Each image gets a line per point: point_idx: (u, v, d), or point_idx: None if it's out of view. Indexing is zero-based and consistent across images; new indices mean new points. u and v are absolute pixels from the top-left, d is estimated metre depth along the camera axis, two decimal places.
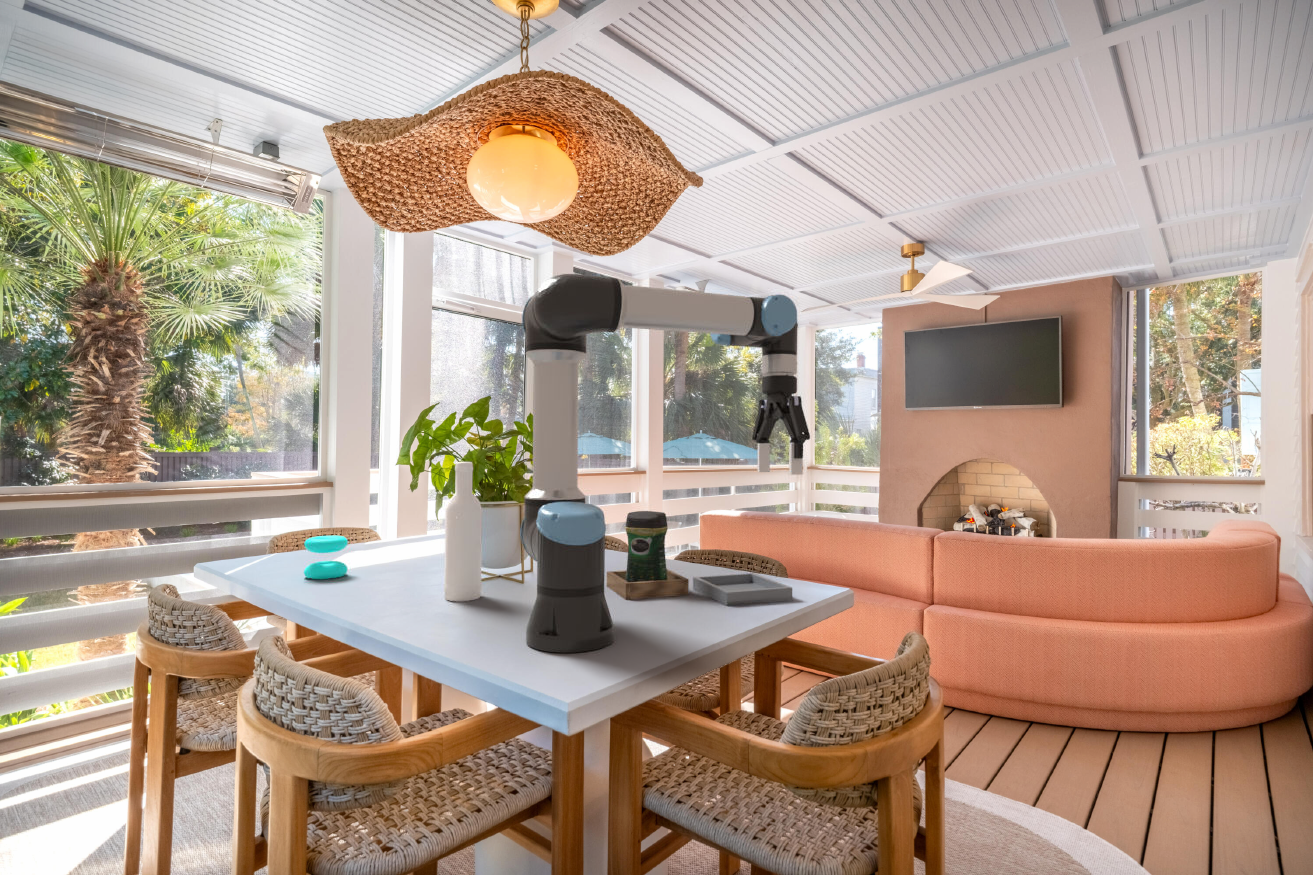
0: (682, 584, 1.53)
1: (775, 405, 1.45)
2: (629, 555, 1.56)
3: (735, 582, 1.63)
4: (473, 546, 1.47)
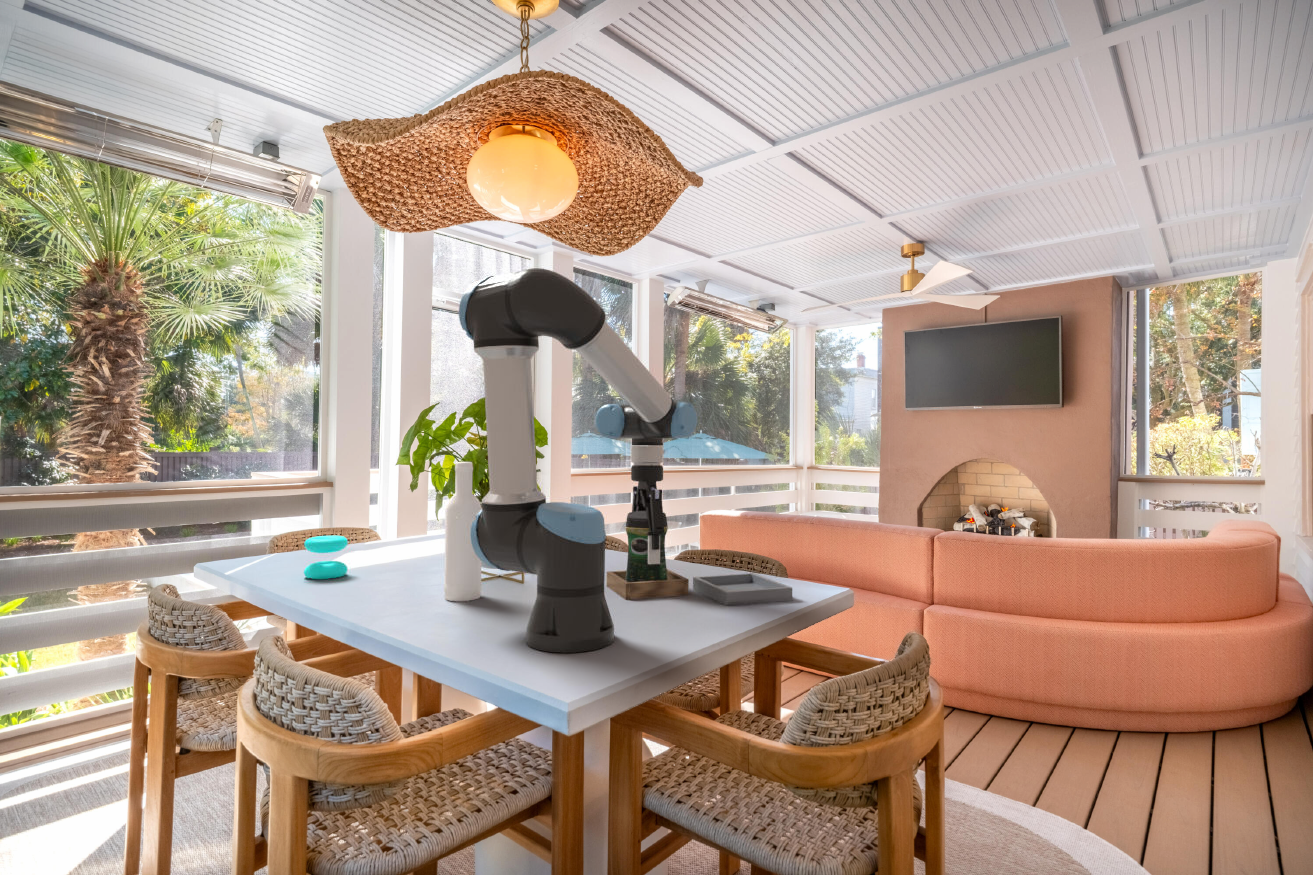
0: (682, 584, 1.53)
1: (641, 493, 1.56)
2: (629, 555, 1.56)
3: (735, 582, 1.63)
4: None
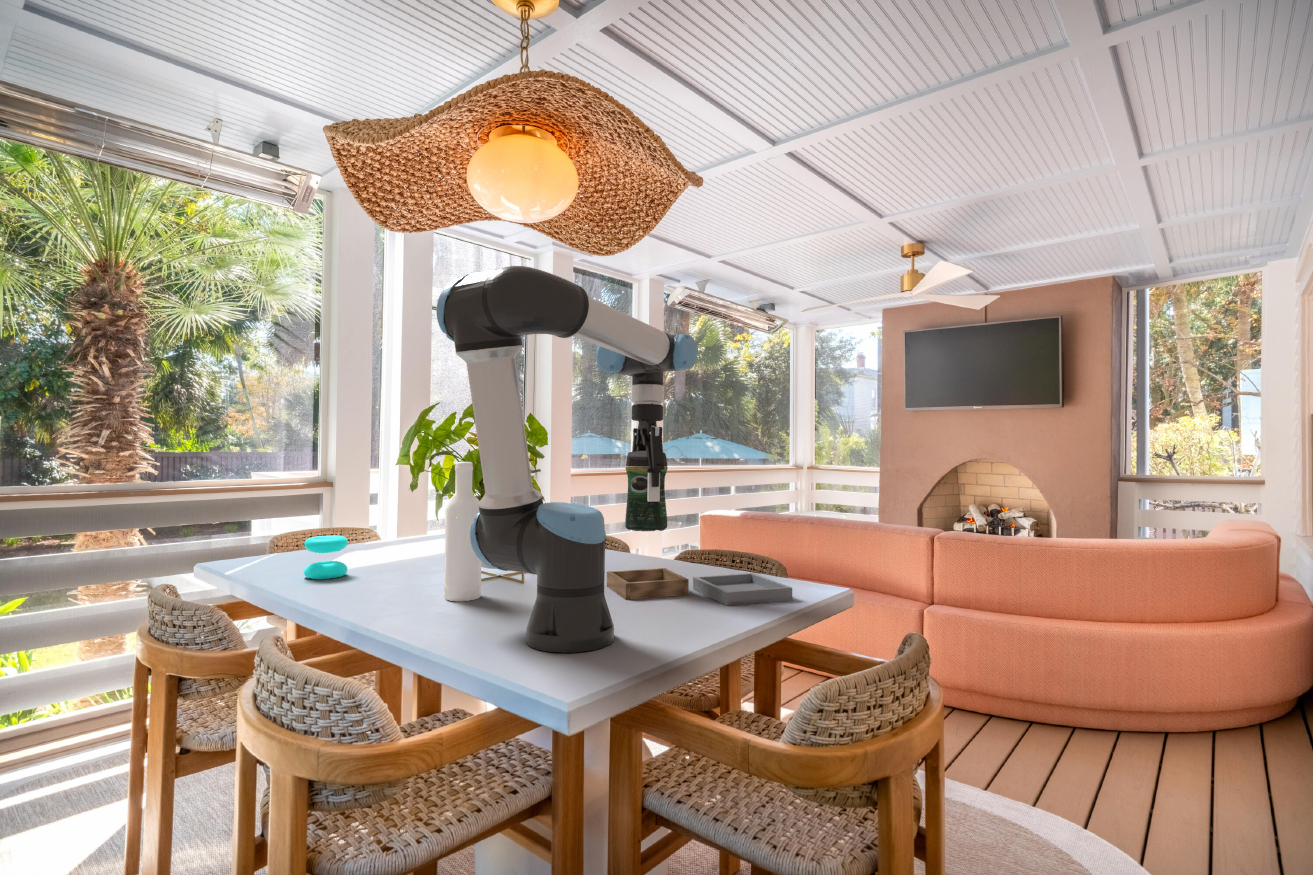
0: (682, 584, 1.53)
1: (641, 432, 1.56)
2: (629, 494, 1.56)
3: (735, 582, 1.63)
4: None
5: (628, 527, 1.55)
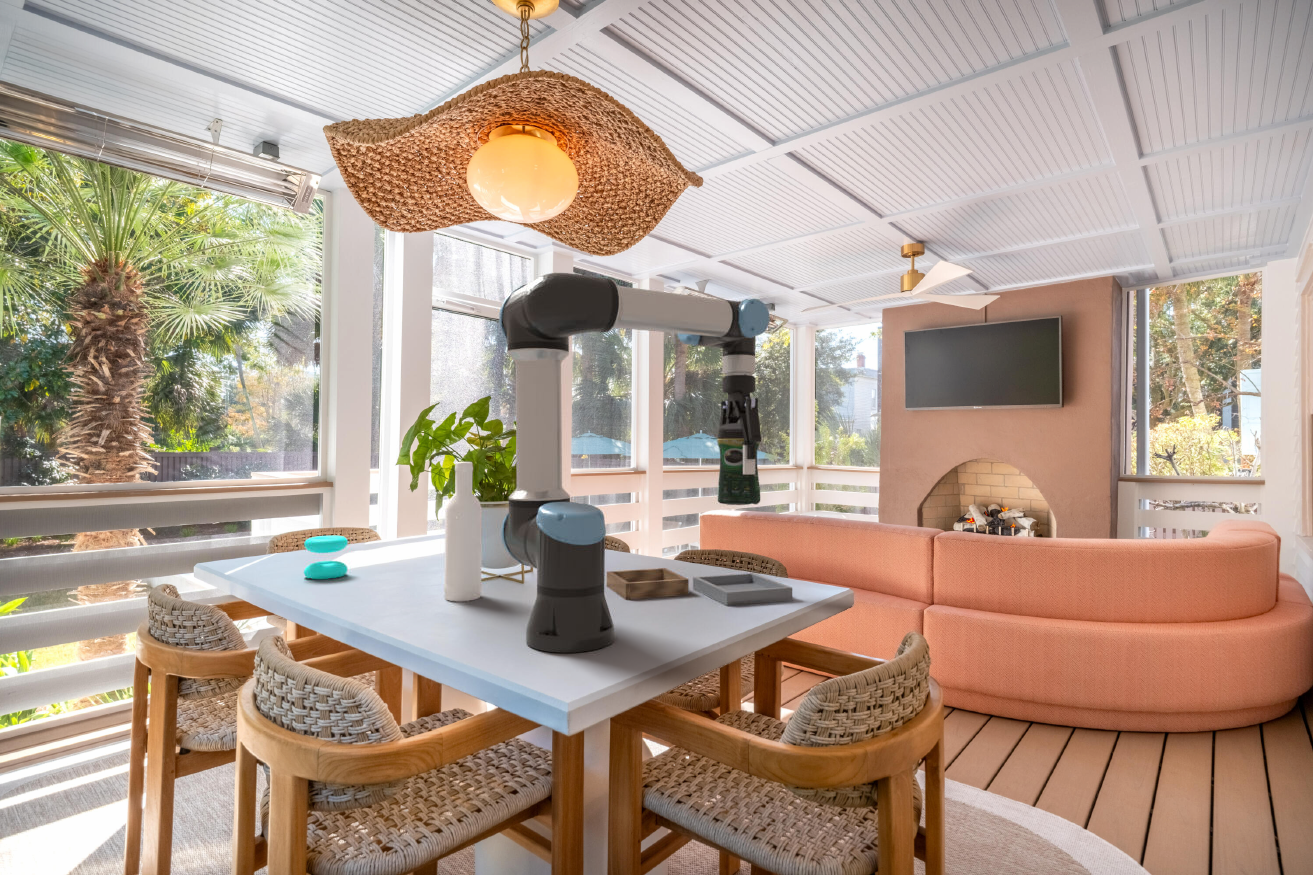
0: (682, 584, 1.53)
1: (734, 404, 1.53)
2: (722, 467, 1.53)
3: (735, 582, 1.63)
4: (473, 546, 1.47)
5: (722, 501, 1.52)
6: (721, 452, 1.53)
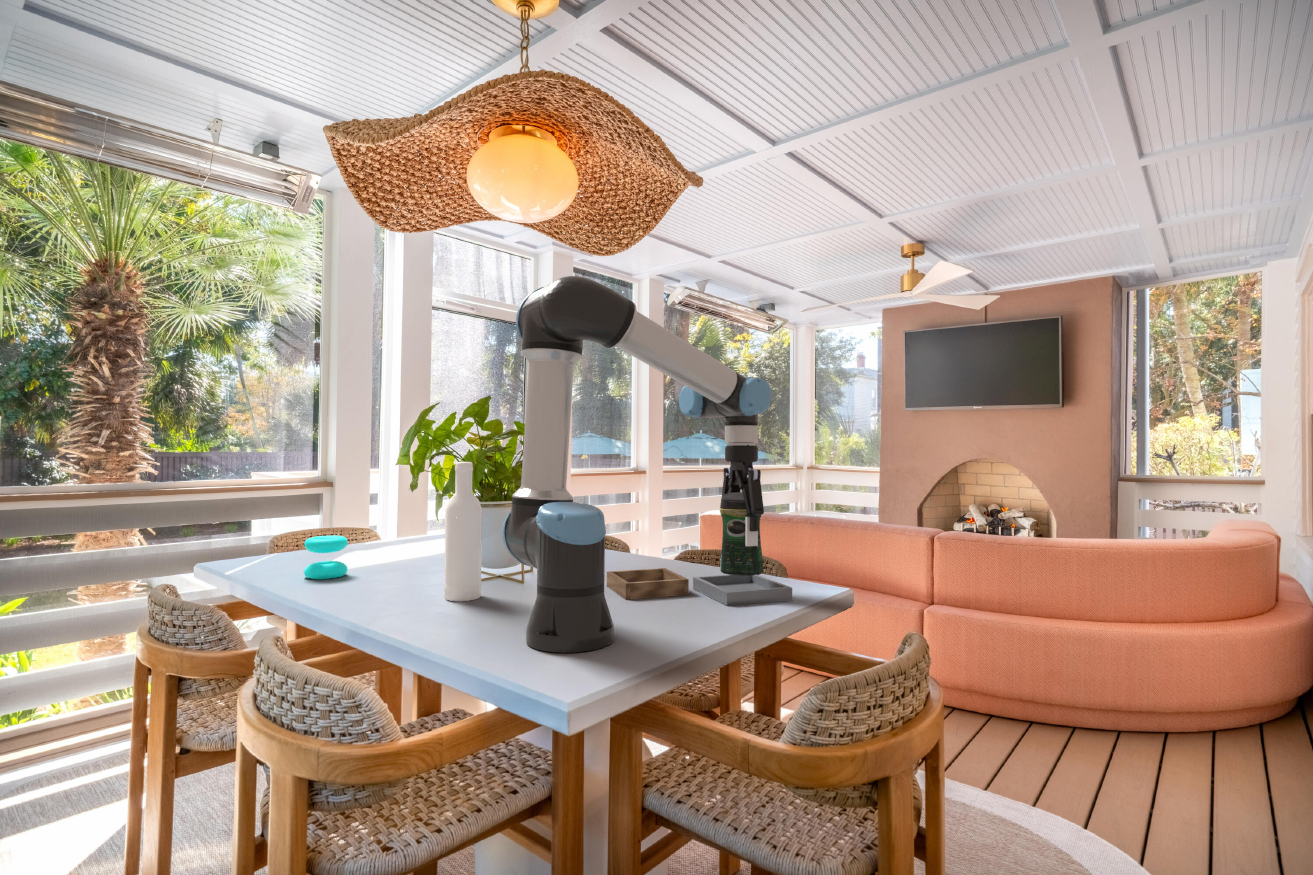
0: (682, 584, 1.53)
1: (737, 474, 1.52)
2: (725, 537, 1.52)
3: (735, 582, 1.63)
4: (473, 546, 1.47)
5: (724, 571, 1.52)
6: (724, 522, 1.53)
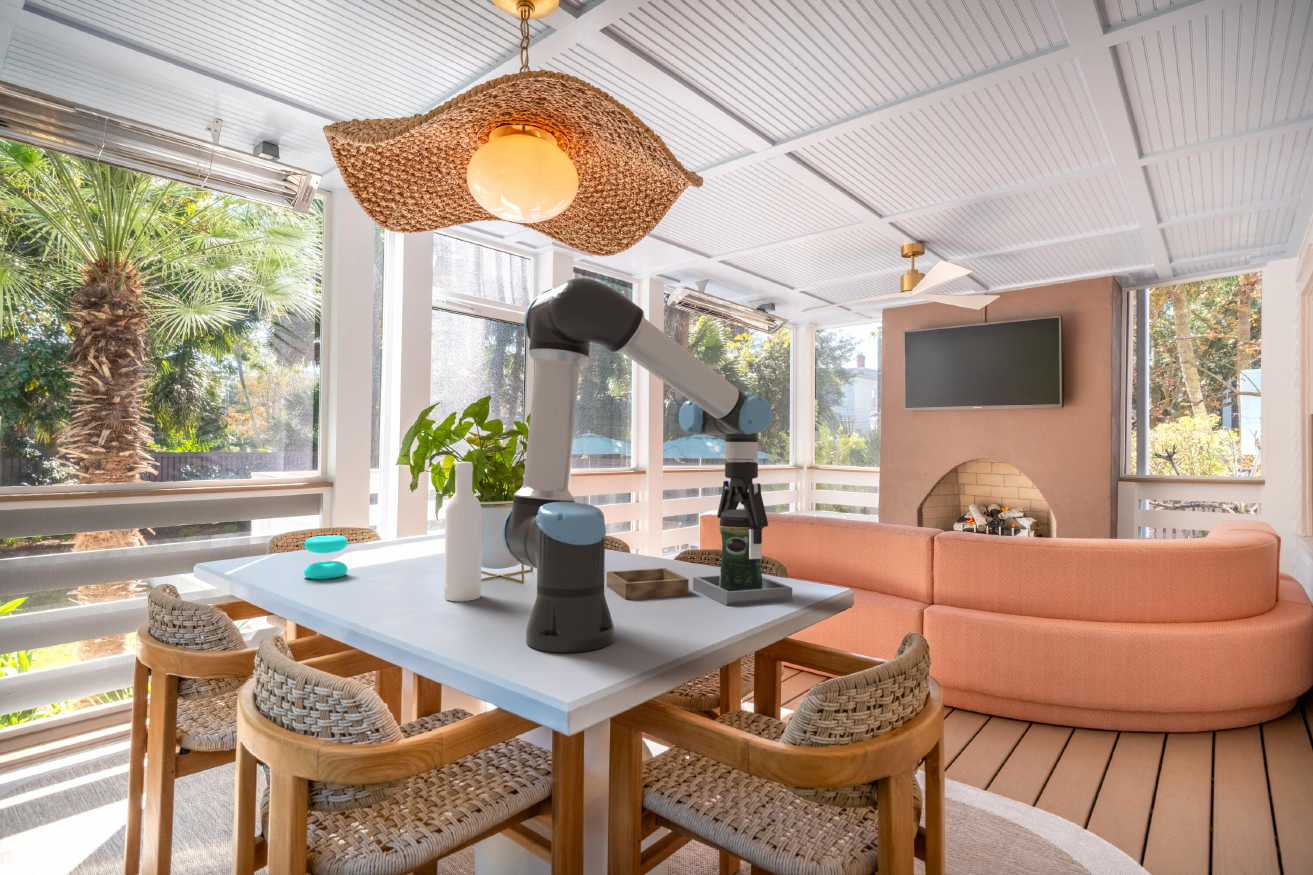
0: (682, 584, 1.53)
1: (737, 490, 1.52)
2: (724, 555, 1.52)
3: None
4: (473, 546, 1.47)
5: None
6: (723, 539, 1.53)
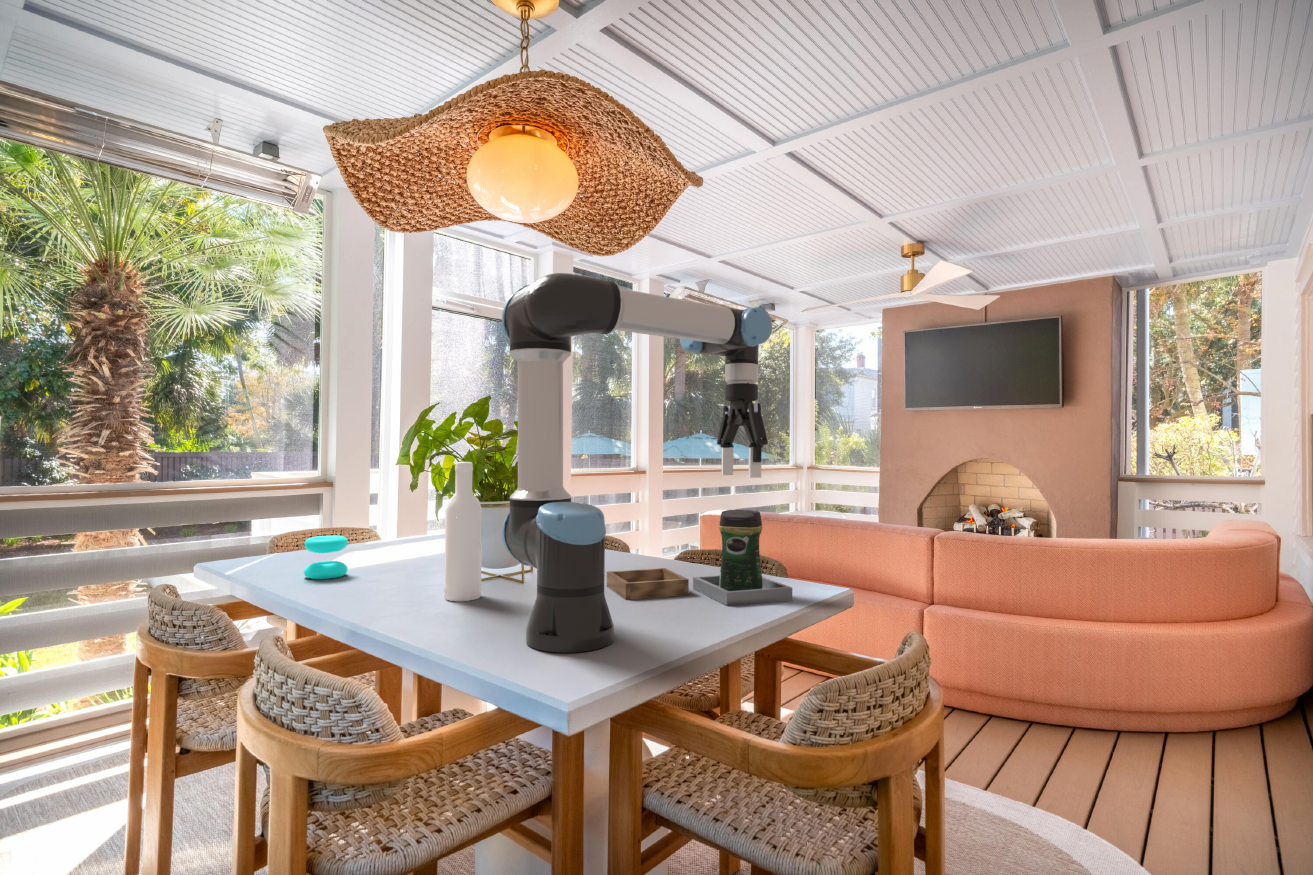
0: (682, 584, 1.53)
1: (736, 411, 1.52)
2: (724, 555, 1.52)
3: None
4: (473, 546, 1.47)
5: None
6: (723, 539, 1.53)
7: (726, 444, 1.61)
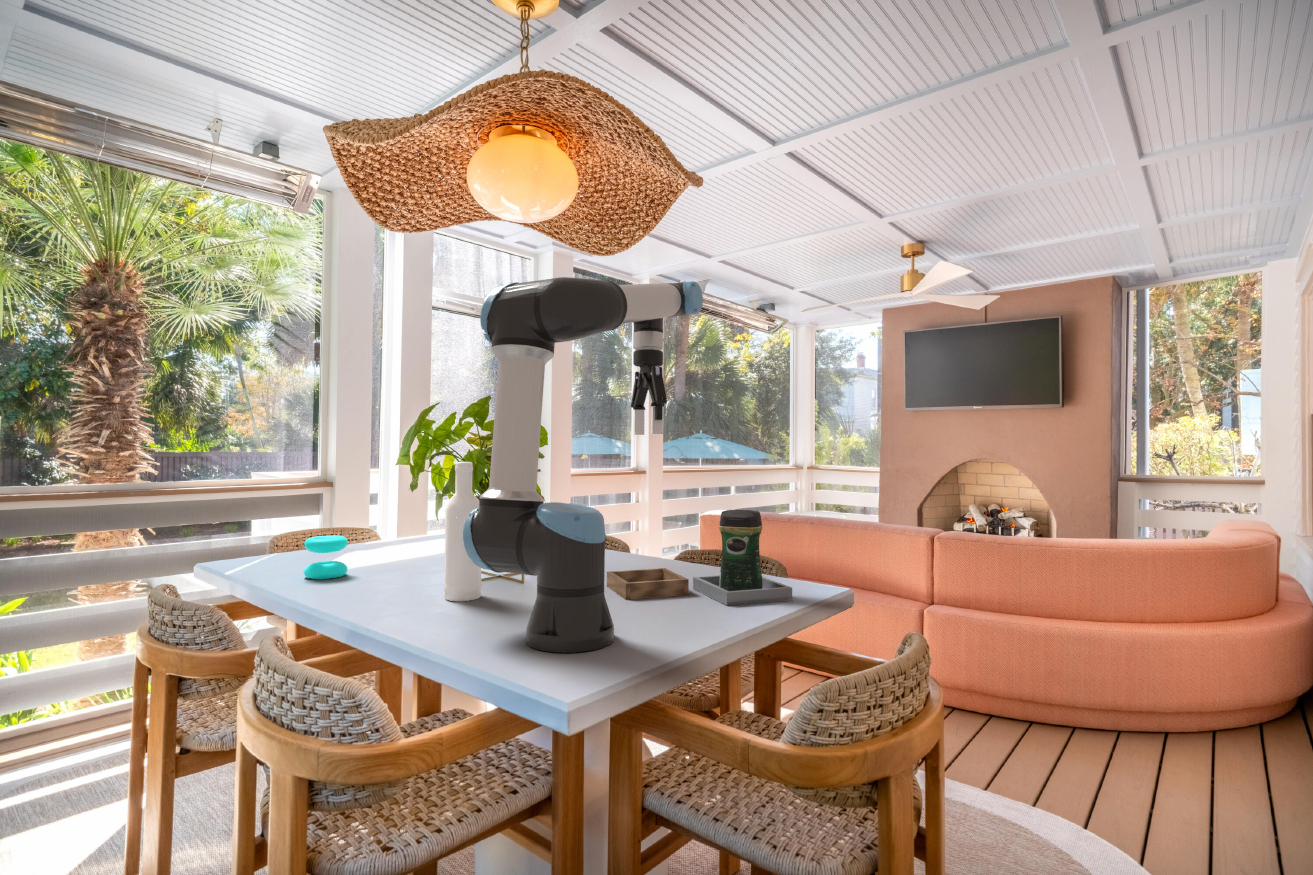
0: (682, 584, 1.53)
1: (642, 375, 1.68)
2: (724, 555, 1.52)
3: None
4: None
5: None
6: (723, 539, 1.53)
7: (638, 406, 1.77)
